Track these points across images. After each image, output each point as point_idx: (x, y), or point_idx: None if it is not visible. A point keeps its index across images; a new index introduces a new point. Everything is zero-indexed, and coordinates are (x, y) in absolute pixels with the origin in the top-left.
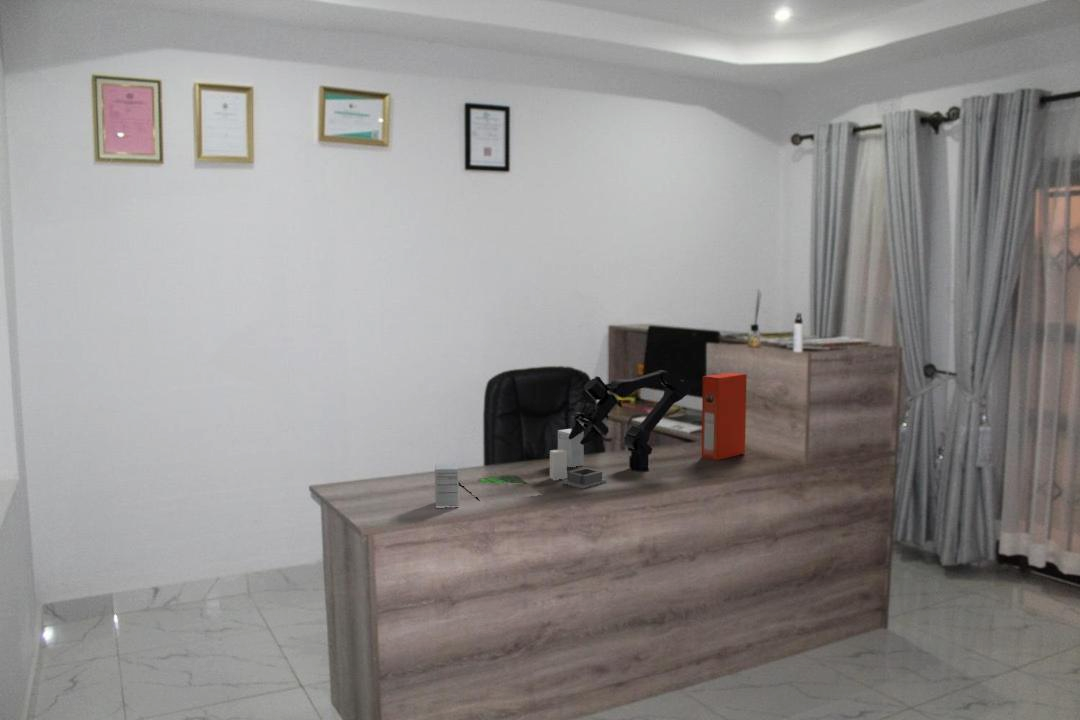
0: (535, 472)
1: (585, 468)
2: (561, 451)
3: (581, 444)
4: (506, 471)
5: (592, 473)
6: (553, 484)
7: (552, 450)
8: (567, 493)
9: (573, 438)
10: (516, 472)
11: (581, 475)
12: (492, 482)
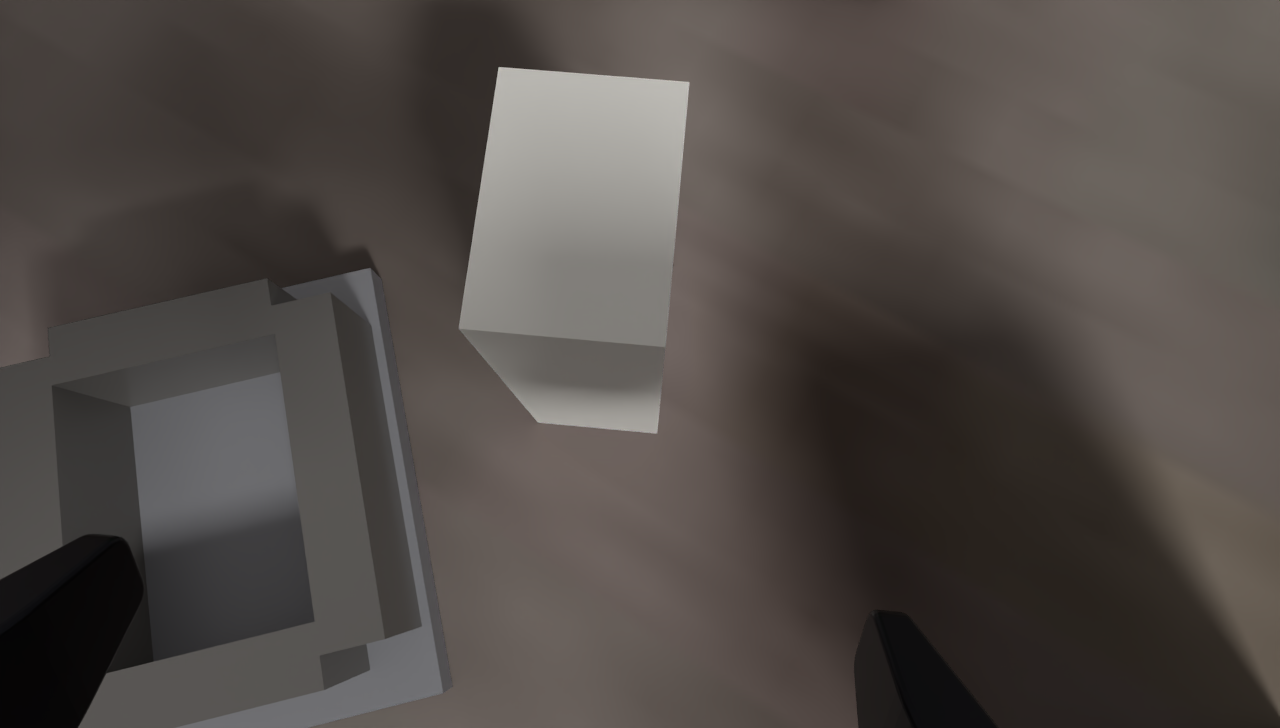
0: (983, 257)
1: (330, 620)
2: (497, 224)
3: (134, 580)
4: (1155, 15)
5: (32, 542)
6: (419, 177)
7: (665, 123)
8: (50, 130)
9: None
10: (1070, 82)
11: (49, 346)
12: None
